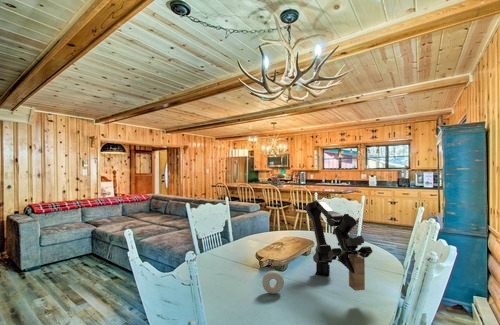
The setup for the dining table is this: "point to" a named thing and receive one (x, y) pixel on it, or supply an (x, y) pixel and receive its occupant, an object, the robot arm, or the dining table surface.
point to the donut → (275, 288)
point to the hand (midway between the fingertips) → (358, 272)
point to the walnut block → (357, 272)
